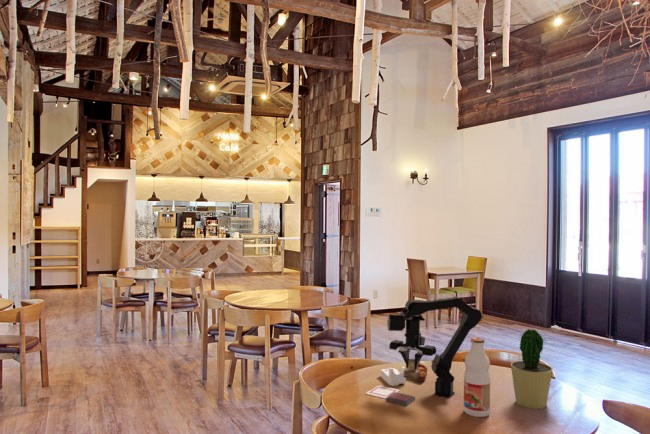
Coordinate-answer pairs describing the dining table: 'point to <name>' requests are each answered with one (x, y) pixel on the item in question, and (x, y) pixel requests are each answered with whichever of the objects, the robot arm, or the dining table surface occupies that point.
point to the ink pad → (400, 398)
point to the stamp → (411, 370)
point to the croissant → (421, 371)
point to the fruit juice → (477, 380)
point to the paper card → (382, 391)
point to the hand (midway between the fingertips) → (412, 368)
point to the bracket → (393, 376)
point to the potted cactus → (531, 373)
